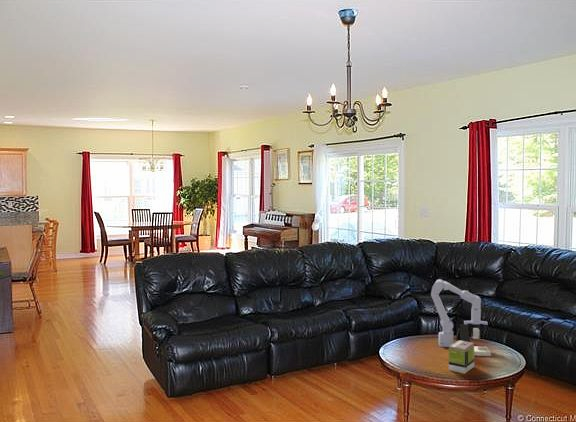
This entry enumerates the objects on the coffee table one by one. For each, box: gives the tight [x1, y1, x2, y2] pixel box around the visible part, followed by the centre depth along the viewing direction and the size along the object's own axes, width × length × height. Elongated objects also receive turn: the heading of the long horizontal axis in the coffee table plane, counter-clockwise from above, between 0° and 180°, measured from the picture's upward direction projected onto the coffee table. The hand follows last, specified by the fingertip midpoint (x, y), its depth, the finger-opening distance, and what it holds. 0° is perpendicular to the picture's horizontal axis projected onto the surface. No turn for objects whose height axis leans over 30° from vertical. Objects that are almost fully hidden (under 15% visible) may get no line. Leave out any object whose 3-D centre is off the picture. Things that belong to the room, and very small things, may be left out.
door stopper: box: [455, 323, 471, 342], centre depth 367 cm, size 9×6×12 cm, turn 14°
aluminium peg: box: [471, 327, 480, 340], centre depth 352 cm, size 4×4×6 cm
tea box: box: [448, 340, 475, 374], centre depth 315 cm, size 15×10×15 cm
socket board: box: [474, 345, 492, 357], centre depth 343 cm, size 16×11×3 cm
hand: (475, 335), depth 352 cm, fingers closed on aluminium peg, 4 cm apart
